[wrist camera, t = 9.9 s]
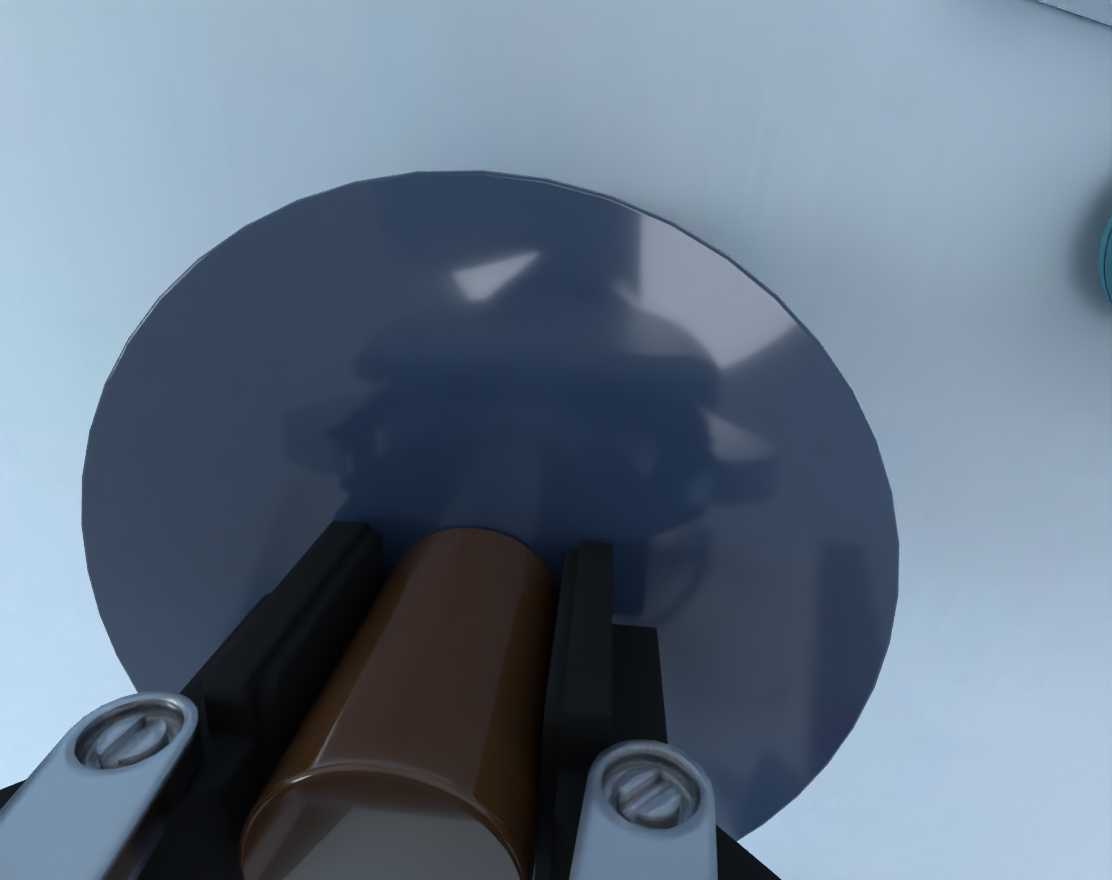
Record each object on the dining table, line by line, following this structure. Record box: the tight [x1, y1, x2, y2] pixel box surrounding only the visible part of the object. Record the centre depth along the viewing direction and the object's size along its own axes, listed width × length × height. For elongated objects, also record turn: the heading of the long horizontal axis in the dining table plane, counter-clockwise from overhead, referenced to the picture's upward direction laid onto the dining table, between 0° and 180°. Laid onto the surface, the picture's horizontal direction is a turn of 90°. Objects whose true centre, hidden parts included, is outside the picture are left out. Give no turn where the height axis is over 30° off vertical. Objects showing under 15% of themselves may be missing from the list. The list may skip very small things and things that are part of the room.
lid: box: [82, 170, 899, 880], centre depth 10 cm, size 14×14×6 cm
